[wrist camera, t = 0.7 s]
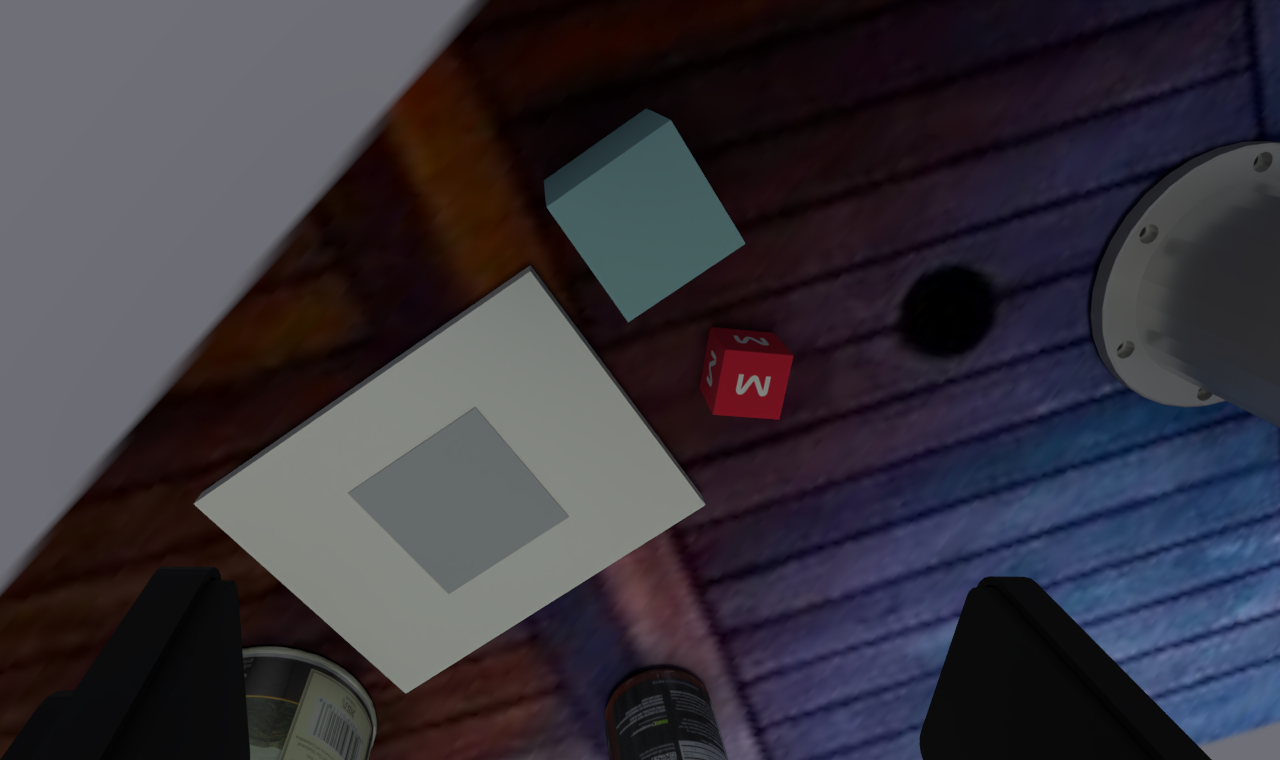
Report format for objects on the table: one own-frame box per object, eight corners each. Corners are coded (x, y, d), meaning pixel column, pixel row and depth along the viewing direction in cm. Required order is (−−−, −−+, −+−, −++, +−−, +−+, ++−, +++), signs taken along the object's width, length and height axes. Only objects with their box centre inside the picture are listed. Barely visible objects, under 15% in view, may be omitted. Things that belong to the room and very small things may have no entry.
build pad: (530, 265, 33) (530, 271, 32) (701, 494, 38) (705, 506, 37) (202, 491, 35) (192, 505, 34) (408, 679, 40) (405, 695, 39)
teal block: (646, 108, 31) (670, 119, 26) (709, 212, 33) (745, 243, 28) (543, 180, 32) (546, 206, 26) (612, 278, 34) (628, 322, 28)
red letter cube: (698, 387, 36) (712, 415, 34) (709, 326, 35) (725, 349, 32) (760, 392, 37) (779, 419, 34) (773, 332, 36) (793, 355, 33)
